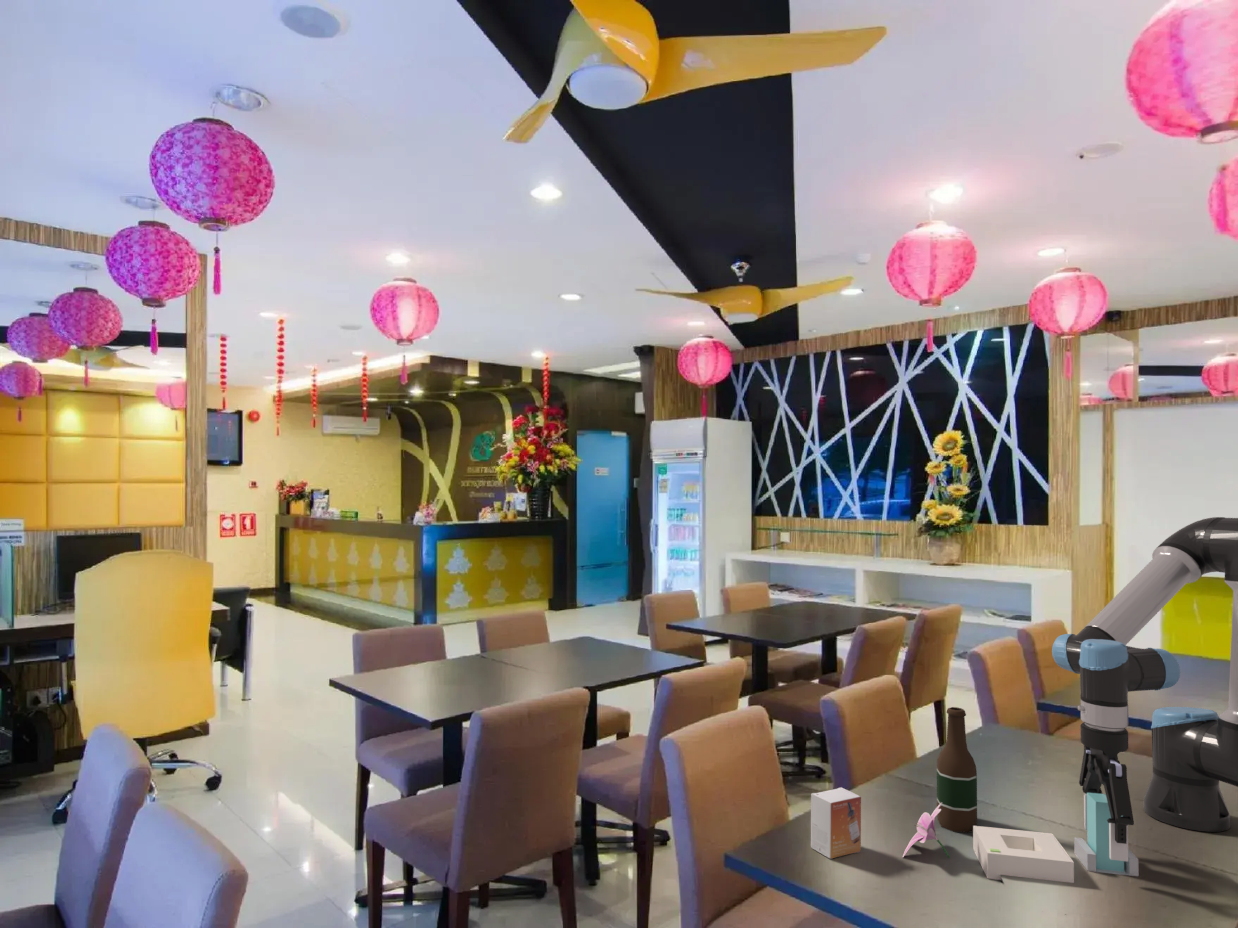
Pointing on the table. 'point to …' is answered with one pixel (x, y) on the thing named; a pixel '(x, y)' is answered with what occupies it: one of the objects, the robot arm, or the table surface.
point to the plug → (1100, 832)
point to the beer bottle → (956, 778)
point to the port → (1021, 854)
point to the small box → (836, 822)
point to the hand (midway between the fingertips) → (1105, 844)
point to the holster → (1089, 859)
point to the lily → (925, 830)
